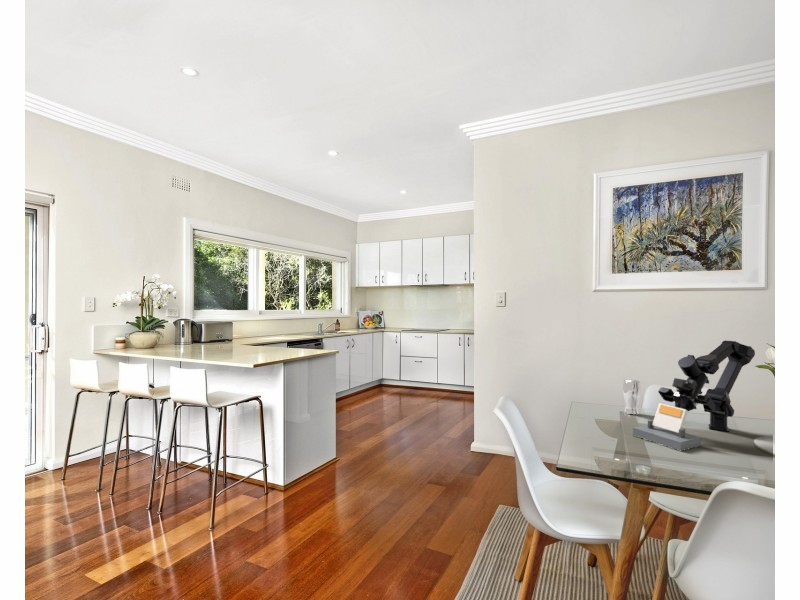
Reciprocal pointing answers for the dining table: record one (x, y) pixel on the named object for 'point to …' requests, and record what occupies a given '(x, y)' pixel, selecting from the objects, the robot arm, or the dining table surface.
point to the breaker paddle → (670, 418)
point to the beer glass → (631, 395)
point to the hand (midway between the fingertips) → (675, 415)
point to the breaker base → (667, 436)
